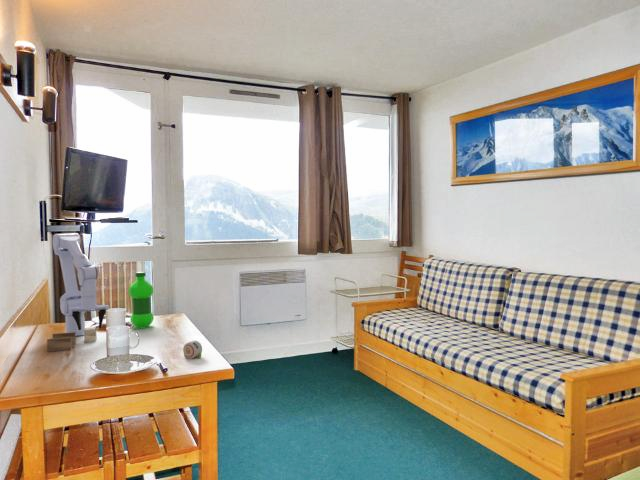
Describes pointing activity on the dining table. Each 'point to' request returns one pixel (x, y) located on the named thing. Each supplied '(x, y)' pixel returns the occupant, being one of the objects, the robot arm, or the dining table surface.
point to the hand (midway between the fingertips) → (90, 328)
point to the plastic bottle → (141, 301)
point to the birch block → (90, 334)
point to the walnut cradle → (61, 341)
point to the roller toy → (192, 349)
